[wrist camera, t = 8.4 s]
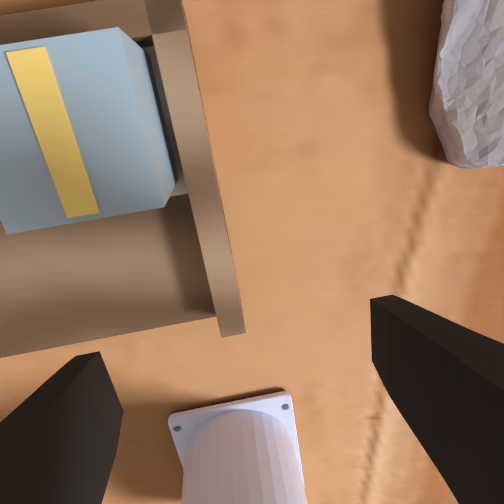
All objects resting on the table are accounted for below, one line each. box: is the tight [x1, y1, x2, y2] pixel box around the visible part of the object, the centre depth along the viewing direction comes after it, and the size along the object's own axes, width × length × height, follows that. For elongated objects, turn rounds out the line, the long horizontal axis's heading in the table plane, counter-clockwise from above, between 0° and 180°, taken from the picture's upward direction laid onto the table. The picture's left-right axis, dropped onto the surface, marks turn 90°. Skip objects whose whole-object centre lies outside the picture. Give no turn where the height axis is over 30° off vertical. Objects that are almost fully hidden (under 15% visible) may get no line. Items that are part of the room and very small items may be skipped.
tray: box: [0, 0, 246, 358], centre depth 16 cm, size 14×14×3 cm
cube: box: [0, 27, 178, 235], centre depth 12 cm, size 5×5×5 cm
